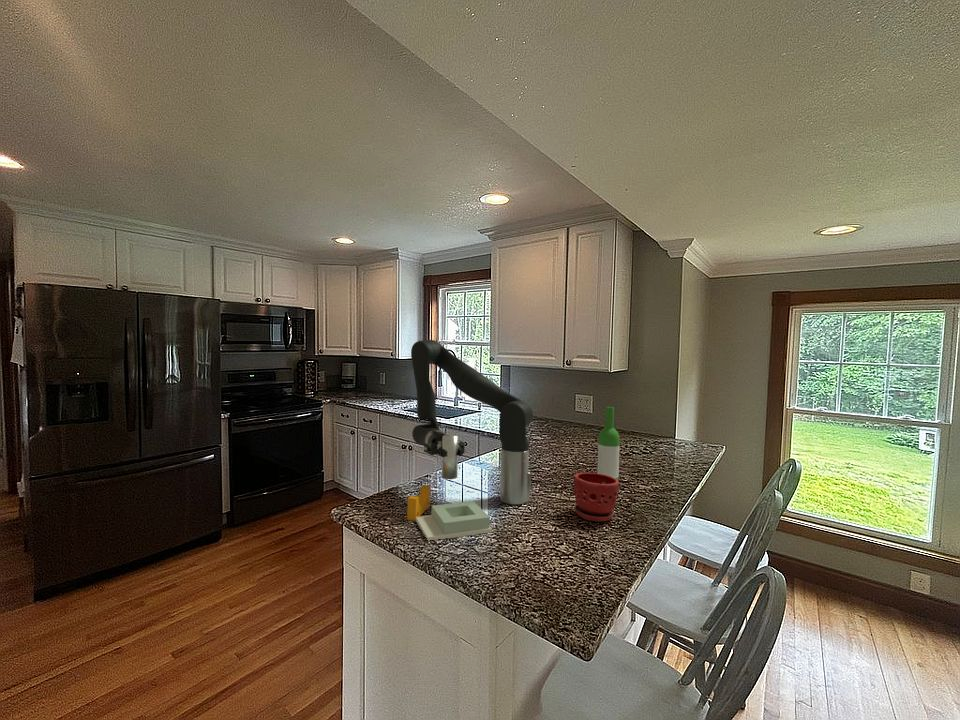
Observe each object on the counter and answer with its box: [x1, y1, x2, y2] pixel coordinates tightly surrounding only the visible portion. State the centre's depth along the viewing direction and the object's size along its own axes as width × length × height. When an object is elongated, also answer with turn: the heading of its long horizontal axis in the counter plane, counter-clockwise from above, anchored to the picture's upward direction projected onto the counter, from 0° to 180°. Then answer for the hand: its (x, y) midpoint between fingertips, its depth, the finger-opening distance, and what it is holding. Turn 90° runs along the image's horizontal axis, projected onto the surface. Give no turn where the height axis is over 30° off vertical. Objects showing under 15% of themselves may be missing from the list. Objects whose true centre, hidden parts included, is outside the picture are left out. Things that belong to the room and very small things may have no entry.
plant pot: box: [573, 472, 620, 522], centre depth 125 cm, size 13×13×12 cm
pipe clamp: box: [406, 485, 431, 522], centre depth 124 cm, size 12×4×6 cm, turn 167°
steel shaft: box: [441, 433, 459, 480], centre depth 128 cm, size 5×5×13 cm
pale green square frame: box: [415, 500, 493, 542], centre depth 115 cm, size 18×14×4 cm
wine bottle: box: [596, 406, 620, 484], centre depth 157 cm, size 8×8×30 cm
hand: (452, 453), depth 126 cm, fingers closed on steel shaft, 5 cm apart
